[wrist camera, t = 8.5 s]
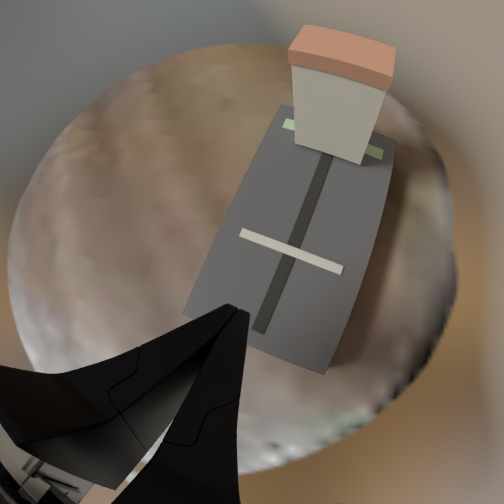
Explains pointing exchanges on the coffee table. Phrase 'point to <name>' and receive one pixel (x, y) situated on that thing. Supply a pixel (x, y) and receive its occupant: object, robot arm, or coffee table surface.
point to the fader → (338, 89)
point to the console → (296, 244)
